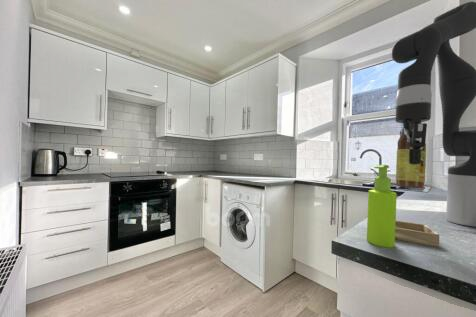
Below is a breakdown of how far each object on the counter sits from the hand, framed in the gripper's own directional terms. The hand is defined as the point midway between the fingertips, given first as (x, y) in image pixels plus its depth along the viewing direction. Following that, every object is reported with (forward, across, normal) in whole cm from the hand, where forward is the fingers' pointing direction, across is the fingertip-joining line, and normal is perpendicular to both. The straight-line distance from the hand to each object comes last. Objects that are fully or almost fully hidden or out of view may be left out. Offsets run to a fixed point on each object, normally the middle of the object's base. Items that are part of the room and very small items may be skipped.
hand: (410, 163), depth 57 cm
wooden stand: (+21, 0, 0) cm, 21 cm away
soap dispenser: (+21, -10, +8) cm, 24 cm away
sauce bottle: (+7, 0, 0) cm, 7 cm away
